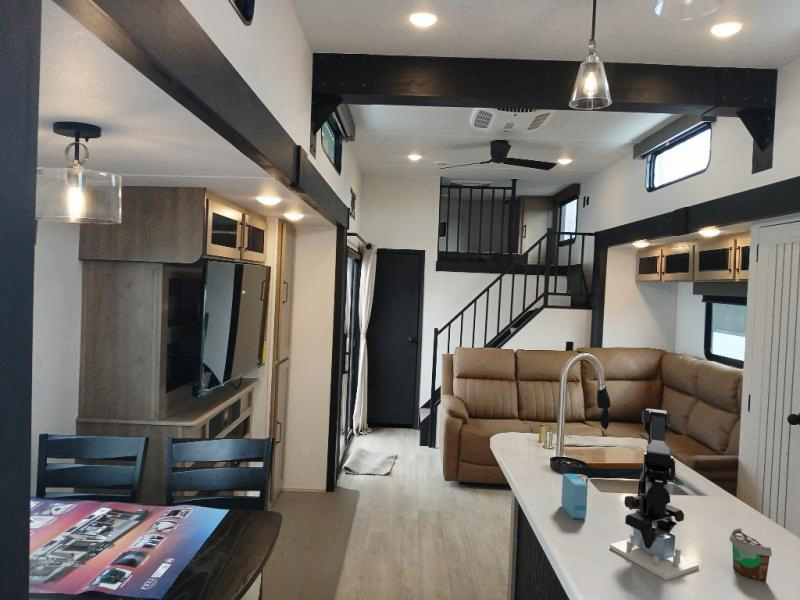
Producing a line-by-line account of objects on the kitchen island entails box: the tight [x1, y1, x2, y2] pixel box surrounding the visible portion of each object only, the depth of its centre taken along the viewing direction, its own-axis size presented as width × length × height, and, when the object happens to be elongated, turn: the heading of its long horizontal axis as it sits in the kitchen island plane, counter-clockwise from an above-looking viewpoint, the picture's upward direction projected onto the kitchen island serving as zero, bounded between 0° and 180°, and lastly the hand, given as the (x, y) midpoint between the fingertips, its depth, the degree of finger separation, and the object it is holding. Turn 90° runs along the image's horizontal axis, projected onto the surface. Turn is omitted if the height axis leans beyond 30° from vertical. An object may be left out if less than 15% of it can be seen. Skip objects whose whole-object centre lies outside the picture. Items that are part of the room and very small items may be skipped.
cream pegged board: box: [609, 533, 700, 581], centre depth 158 cm, size 14×19×4 cm
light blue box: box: [561, 473, 588, 520], centre depth 188 cm, size 12×4×12 cm, turn 2°
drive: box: [632, 524, 676, 560], centre depth 158 cm, size 5×10×6 cm, turn 27°
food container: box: [729, 528, 773, 583], centre depth 152 cm, size 12×6×10 cm, turn 5°
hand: (653, 546), depth 158 cm, fingers closed on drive, 5 cm apart
